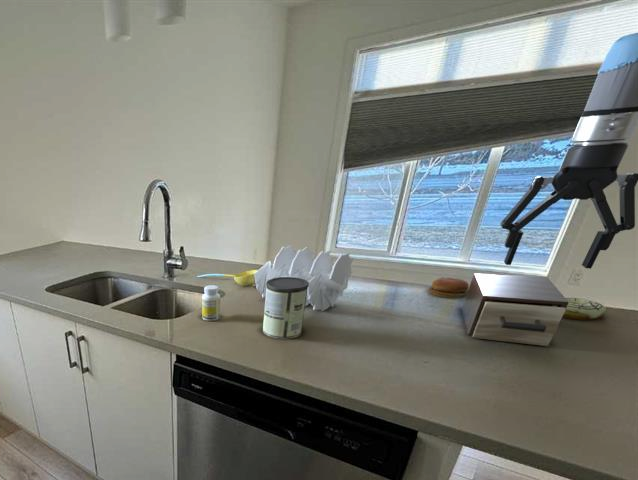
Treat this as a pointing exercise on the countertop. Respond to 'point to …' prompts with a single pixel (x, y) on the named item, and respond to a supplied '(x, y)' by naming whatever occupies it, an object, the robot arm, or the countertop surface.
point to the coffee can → (284, 307)
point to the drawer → (518, 322)
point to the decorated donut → (583, 309)
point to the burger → (449, 287)
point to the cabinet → (507, 294)
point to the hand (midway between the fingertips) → (545, 265)
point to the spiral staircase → (309, 274)
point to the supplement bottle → (211, 303)
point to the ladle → (239, 277)
